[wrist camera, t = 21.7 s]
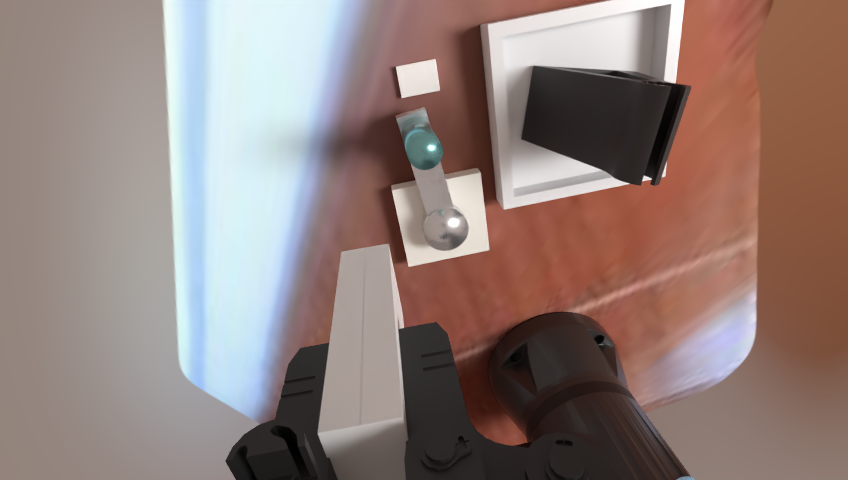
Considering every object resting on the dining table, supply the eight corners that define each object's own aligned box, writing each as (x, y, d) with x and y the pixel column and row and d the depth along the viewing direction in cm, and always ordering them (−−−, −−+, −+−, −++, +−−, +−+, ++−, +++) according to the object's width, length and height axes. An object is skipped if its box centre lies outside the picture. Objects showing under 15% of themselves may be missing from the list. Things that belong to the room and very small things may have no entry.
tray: (648, 168, 40) (665, 176, 38) (496, 199, 39) (503, 209, 37) (664, -12, 33) (686, -15, 31) (479, 24, 32) (487, 24, 30)
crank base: (485, 243, 42) (489, 250, 40) (407, 259, 41) (408, 266, 40) (464, 53, 33) (467, 54, 32) (366, 72, 33) (366, 74, 32)
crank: (469, 235, 39) (488, 275, 33) (428, 248, 39) (440, 290, 33) (433, 103, 33) (448, 121, 27) (385, 118, 33) (389, 140, 27)
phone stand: (519, 138, 36) (580, 184, 26) (532, 64, 34) (605, 81, 23) (614, 142, 38) (710, 187, 27) (634, 71, 35) (749, 90, 24)
